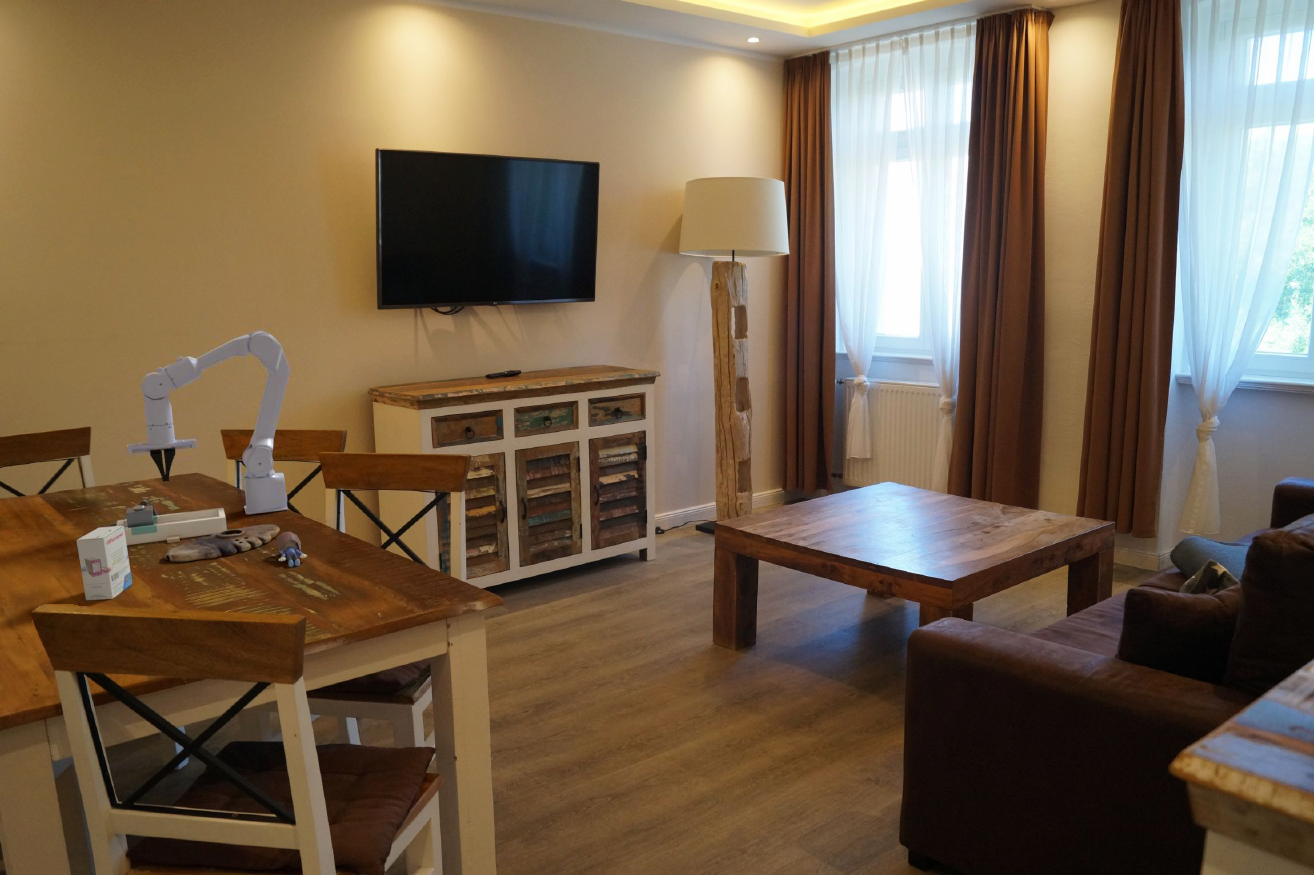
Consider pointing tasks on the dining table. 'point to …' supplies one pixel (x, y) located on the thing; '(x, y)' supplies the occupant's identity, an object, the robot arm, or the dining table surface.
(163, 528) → the white rectangular tray
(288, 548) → the figurine
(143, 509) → the rider
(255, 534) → the mask
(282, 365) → the robot arm
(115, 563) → the ink box
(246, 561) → the dining table surface
